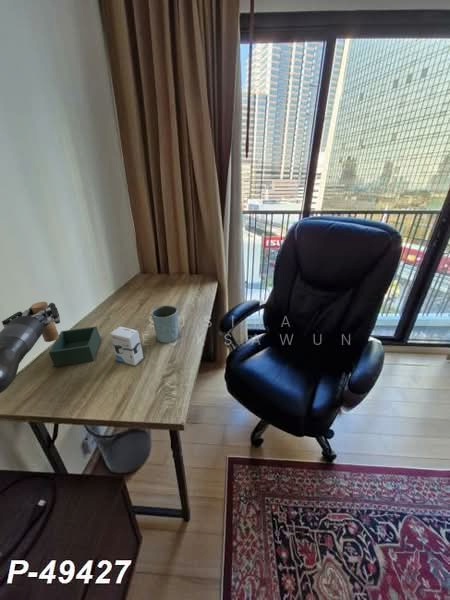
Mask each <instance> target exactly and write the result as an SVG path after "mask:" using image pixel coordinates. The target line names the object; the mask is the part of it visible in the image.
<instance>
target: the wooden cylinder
mask: <svg viewBox="0 0 450 600" xmlns="http://www.w3.org/2000/svg"><path fill="white" fill-rule="evenodd" d="M48 305H49V304H48V302H46V301H39V302H35V303H33V304H32V305H30V307H31V308H32V311H33V313H34V314H37V313H38V312H39V311H41V310H45V309H46V308H47V307H48ZM47 314H48V313H47ZM59 334H60V333H59V332H58V330H57V326H56V324H55V322H51V323H49V324H48V325H47V326H45V327H44V329H43V333H42V335H41V336H42V339H43V340H44V343H45V342H46V343H51V342H55V341H56V339H58V338H59Z"/></svg>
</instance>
